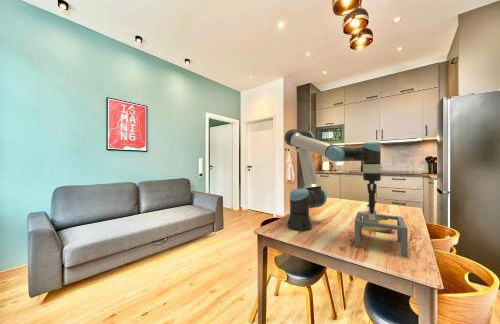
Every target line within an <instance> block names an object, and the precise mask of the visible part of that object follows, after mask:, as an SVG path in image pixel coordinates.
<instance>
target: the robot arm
mask: <svg viewBox="0 0 500 324" xmlns="http://www.w3.org/2000/svg"><path fill="white" fill-rule="evenodd" d="M283 139H284V142H285V144H286V145H287V146H290V147H292V148H295V151H296V152H297V153H298V154H299V155H298V156H299V161H300V165H301V166H300V167H301V172H302V176H303V177H302V178H303V182H304V187H303V188H294V189H292V190H291V191H290V192H289V216H288V219H287V223H286V224H287V225H286V226H287V228H289V229H291V230H294V231H299V232H301V231H302V232H303V231H309V230H312V229H313V223H312V221H311V216H310V209H314V208H320V207H322V206H324V205H325V204H326V202H327V199H328V198H327V197H328V196H327V193H326V191H325V190H324V189H322V185H321V184H319V181H318V176H317V173H316V168H315V167H316V166H315V163H314V158H313V157H314V156H313V153H314V154H316V155H320V156H322V157H325V158H327V159H328V161H331V162H362V163H363V164H362V167H363V168H362V172H363V173H362V174H363V175H362V176H363V177H362V179H363V180H364V181H369V182H368V183H367V185H366V186H367V193H368V204H367V205H366V206H367V208H368V211H369V220H375V211H376V204H377V201H376V197H375V196H376V193H377V183H375V182H380V181H381V180H382V179H381V178H382V177H381V176H382V175H381V173H380V172H381V170H382V168H383V166H381V164H382V163H381V161H382V160H381V159H382V158H381V157H382V156H381V155H382V154H381V153H382V150H381V148H382V147H381V143H380V142H379V141H368V142H363V144H362V146H358V147H357V146H356V147H355V146H353V147H352V146H339V145H336V144H332V143H329V142H327V141H322V140H319V139H315V136H314V133H313V132H311V131H309V130H307V129H295V128H293V129H288V130H287V131H286V133H284V137H283Z"/></svg>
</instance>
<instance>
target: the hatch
mask: <svg viewBox="0 0 500 324" xmlns="http://www.w3.org/2000/svg"><path fill="white" fill-rule="evenodd" d="M379 223H382V224H389V225H396V226H397V220H395V219H394V220H392V219H389V220H379ZM377 230H392V229H385V228H379V227H372V226H365V225H363V226H362V232H363V231H364V232H367V231H369V232H370V231H373V232H374V231H377ZM392 231H393V230H392Z"/></svg>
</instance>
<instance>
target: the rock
mask: <svg viewBox="0 0 500 324" xmlns="http://www.w3.org/2000/svg"><path fill="white" fill-rule="evenodd" d="M378 220H390V219H384V218H378ZM362 221H364V219H363V217H362ZM362 227H363V225H362ZM376 231H377V232H379V233H391V232H393V230H376Z"/></svg>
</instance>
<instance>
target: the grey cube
mask: <svg viewBox="0 0 500 324" xmlns="http://www.w3.org/2000/svg"><path fill="white" fill-rule="evenodd" d="M362 212H363V214H362V215H363V216H362V218H363V219H364V221H367V222H375V223H379V220H378V216H377V214H378V212H377V210H375V220H369V210H368V211H362Z"/></svg>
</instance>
